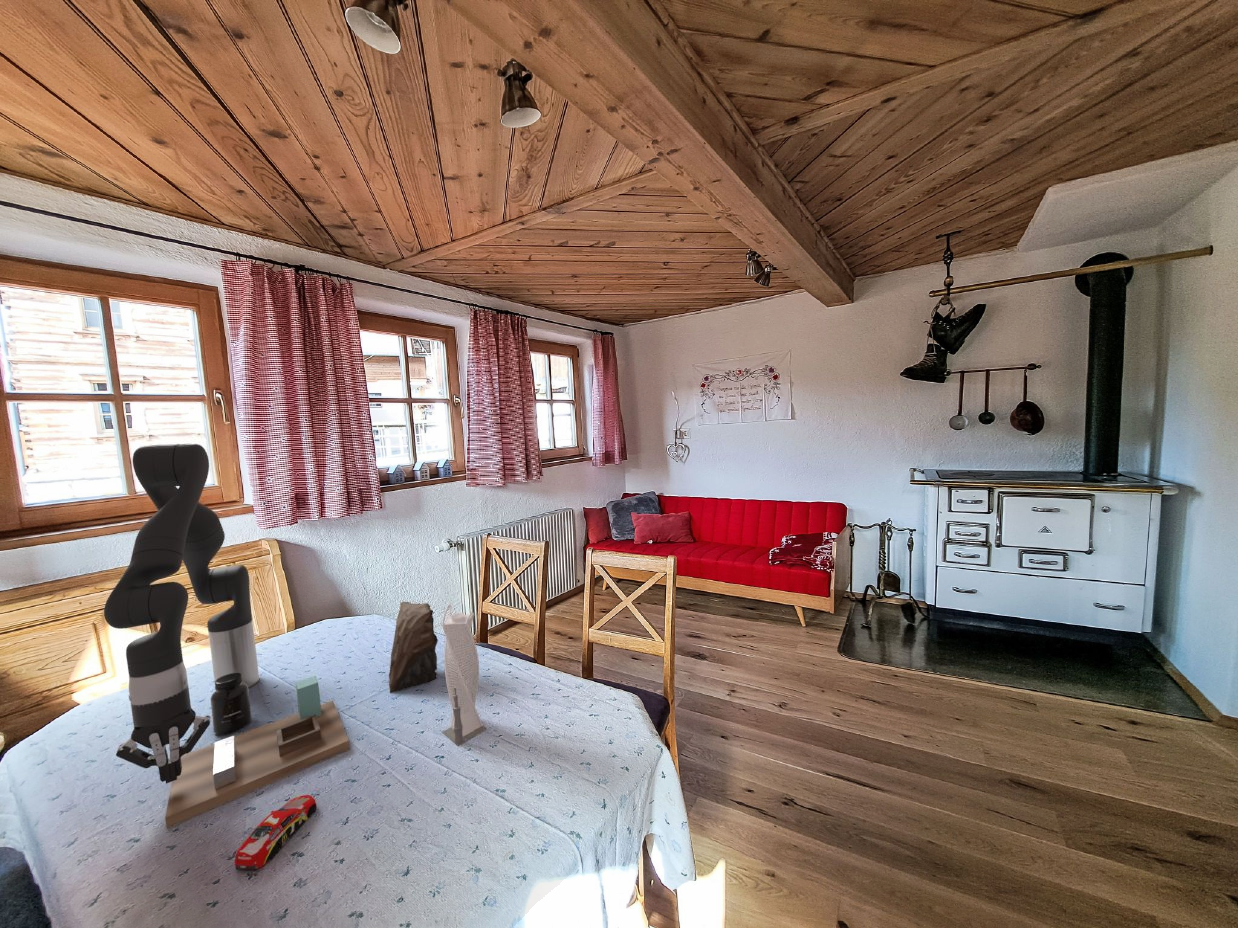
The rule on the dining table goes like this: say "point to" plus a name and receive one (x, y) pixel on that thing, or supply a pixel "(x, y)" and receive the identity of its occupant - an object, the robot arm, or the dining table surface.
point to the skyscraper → (461, 677)
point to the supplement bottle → (230, 704)
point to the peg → (308, 697)
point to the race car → (274, 833)
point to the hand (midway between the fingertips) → (171, 779)
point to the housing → (256, 761)
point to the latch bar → (224, 762)
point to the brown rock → (413, 648)
